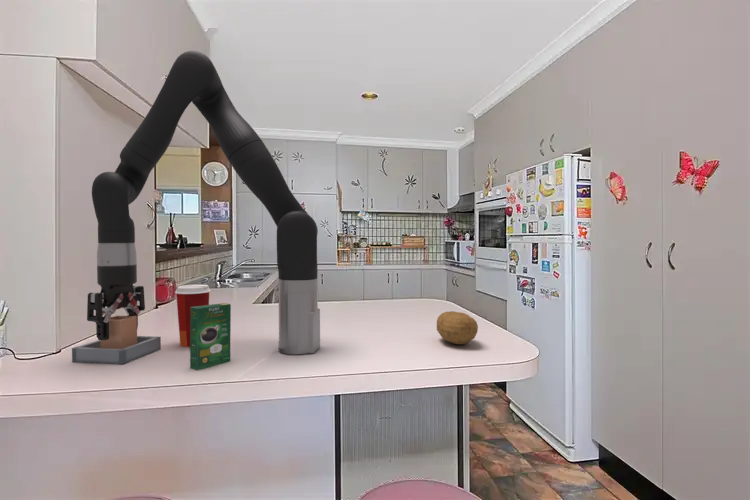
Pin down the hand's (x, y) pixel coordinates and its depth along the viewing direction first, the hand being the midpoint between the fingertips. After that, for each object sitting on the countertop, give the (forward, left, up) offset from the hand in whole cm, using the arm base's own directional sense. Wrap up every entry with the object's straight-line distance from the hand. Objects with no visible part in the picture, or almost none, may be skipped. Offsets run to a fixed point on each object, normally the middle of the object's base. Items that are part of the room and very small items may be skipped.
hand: (118, 335), depth 92 cm
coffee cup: (-11, -12, -5) cm, 17 cm away
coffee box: (-24, +3, -5) cm, 25 cm away
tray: (0, 0, -5) cm, 5 cm away
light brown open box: (0, 0, -4) cm, 4 cm away
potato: (-76, -24, -5) cm, 80 cm away
